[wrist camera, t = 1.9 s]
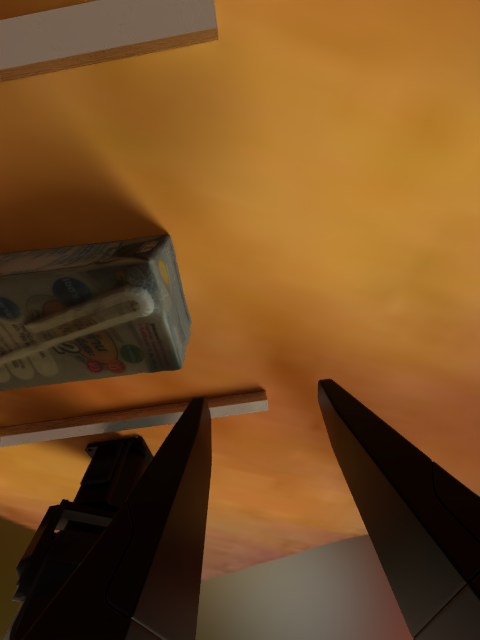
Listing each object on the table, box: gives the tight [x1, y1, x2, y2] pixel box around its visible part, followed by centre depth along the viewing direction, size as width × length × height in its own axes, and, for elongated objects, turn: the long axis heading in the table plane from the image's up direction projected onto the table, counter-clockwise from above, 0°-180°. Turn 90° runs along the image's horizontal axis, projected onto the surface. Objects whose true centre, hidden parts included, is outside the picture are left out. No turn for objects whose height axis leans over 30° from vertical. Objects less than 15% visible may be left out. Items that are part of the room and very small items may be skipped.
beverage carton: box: [0, 235, 191, 391], centre depth 17 cm, size 8×19×7 cm, turn 96°
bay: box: [0, 0, 269, 447], centre depth 18 cm, size 28×31×3 cm
